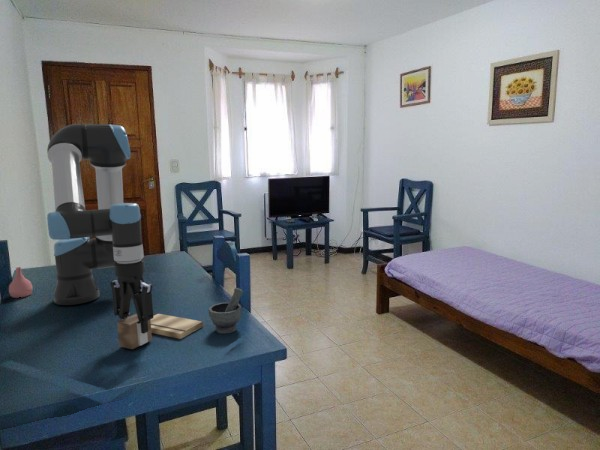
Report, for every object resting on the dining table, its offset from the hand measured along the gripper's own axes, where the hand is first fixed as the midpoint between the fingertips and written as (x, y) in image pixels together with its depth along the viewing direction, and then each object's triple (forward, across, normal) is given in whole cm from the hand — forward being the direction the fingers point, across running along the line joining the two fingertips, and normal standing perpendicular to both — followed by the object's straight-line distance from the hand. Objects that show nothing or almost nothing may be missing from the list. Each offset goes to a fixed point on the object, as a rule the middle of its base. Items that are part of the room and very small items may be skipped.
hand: (135, 341), depth 118 cm
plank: (+1, 0, +13) cm, 13 cm away
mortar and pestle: (+1, +17, +20) cm, 26 cm away
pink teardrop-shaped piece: (+1, -74, +13) cm, 76 cm away
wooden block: (0, 0, 0) cm, 0 cm away
